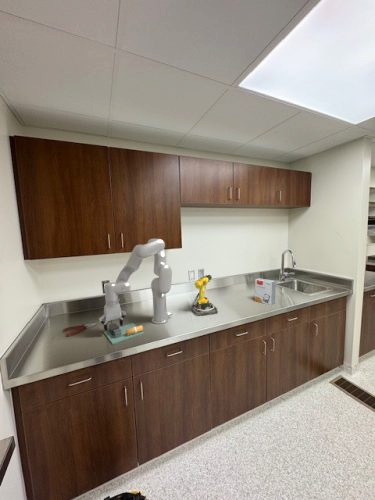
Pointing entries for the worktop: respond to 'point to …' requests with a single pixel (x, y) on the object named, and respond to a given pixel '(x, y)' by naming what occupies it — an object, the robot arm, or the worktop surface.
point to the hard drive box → (265, 291)
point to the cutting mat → (125, 333)
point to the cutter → (115, 330)
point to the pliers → (79, 328)
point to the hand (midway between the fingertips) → (113, 327)
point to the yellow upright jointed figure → (203, 298)
